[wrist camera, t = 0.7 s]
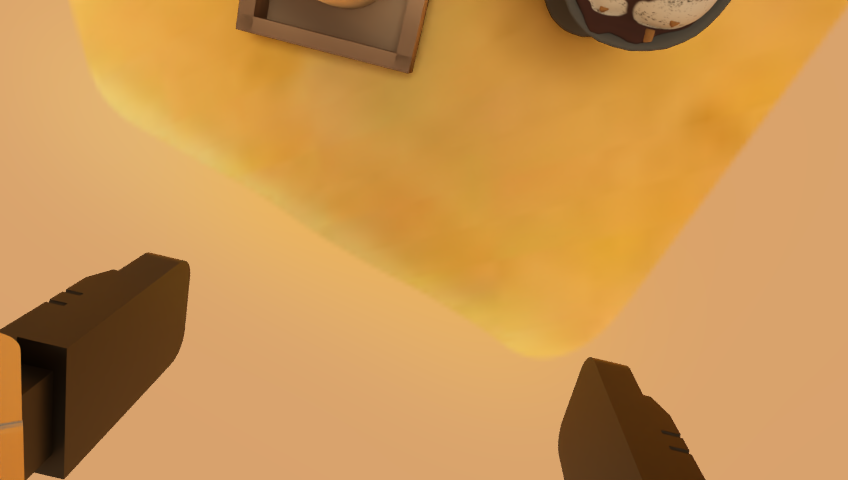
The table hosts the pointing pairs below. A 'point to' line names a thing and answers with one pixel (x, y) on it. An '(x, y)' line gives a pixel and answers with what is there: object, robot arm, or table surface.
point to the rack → (342, 28)
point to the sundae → (636, 20)
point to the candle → (348, 3)
